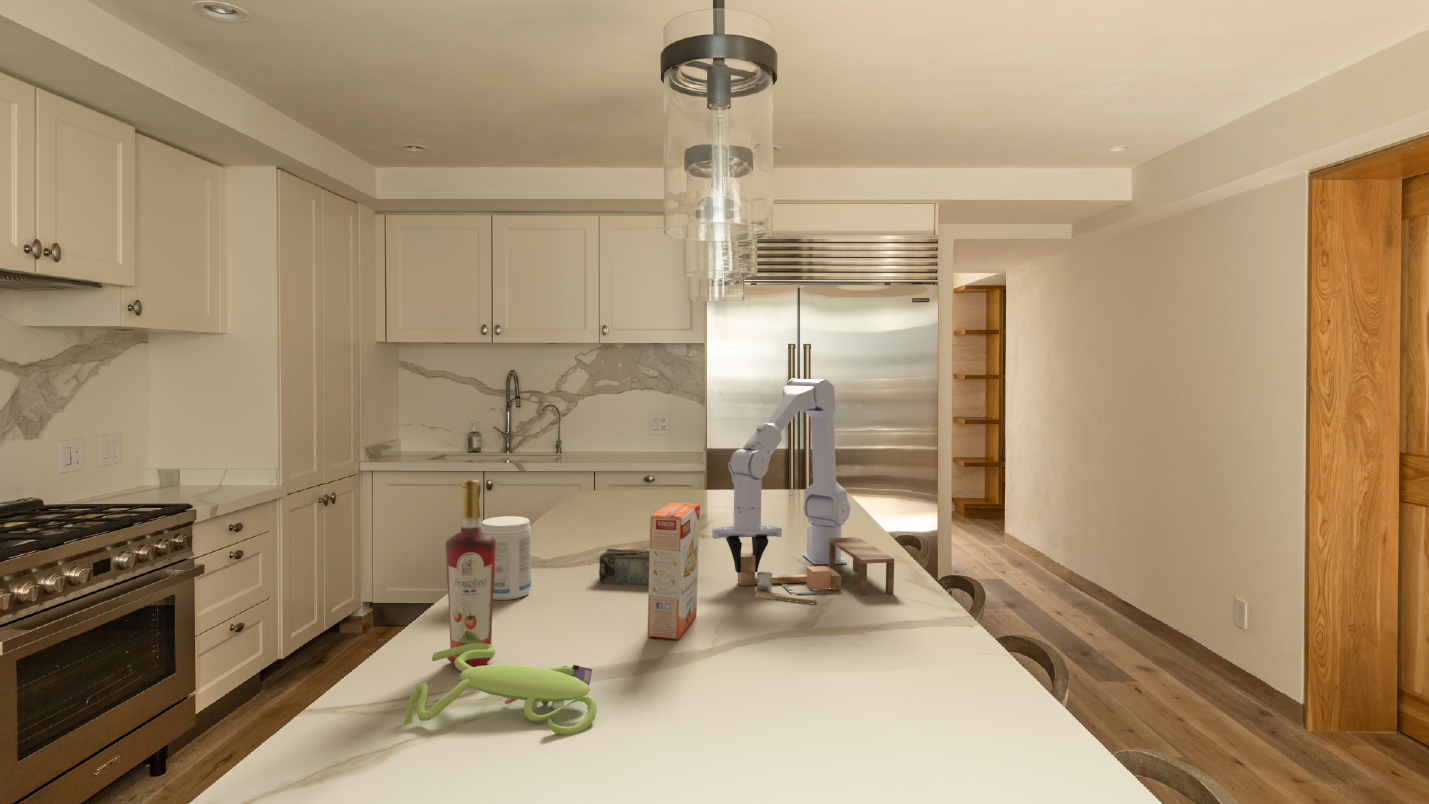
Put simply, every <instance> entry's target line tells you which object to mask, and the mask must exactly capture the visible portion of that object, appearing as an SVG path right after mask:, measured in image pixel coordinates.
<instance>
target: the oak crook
mask: <svg viewBox="0 0 1429 804" xmlns="http://www.w3.org/2000/svg"><path fill="white" fill-rule="evenodd" d="M825 566H826V567H827V568H828V569H830V570H831V590H832V591H833V590H841V589H842V575H841V574H840V573H838V572H837V571H836V570H835V571H834V570H833V569H832V568H830V567H829V566H828V565H825ZM737 583H738V584H739V585H740V586H754V585H757V575H756V572H755V555H754V554H753V552H746V553H744V552H741V572H740V573H737ZM780 583H786V584H791V583H807V573H806V574H805V573H803V574H778V575H777V574H772V584H780Z"/></svg>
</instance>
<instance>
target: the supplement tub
mask: <svg viewBox="0 0 1429 804" xmlns="http://www.w3.org/2000/svg"><path fill="white" fill-rule="evenodd" d="M530 524H531V522H530V519H529V518H527V517H525V516H515V515H513V516H509V515H507V516H497V517H496V516H495V517H489V518H486V519H484V520H481V531H482V532H485V533H487V534H490V535H491V536H492V537H493V538H495V539H496V554H495V577H494V591H493V601H494V600H495V601H496V600H497V601H500V600H501V601H507V600H509V601H510V600H517V599H520V598H522V597H526V596H527V595H529V593H530V592H531V591H532V549H531V548H532V541H531V540H532V536H531V532H532V531H531V525H530Z"/></svg>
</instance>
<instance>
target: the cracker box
mask: <svg viewBox="0 0 1429 804" xmlns="http://www.w3.org/2000/svg"><path fill="white" fill-rule="evenodd" d="M700 507H701V505H700V504H699V503H690V502H670V503H668V504H667V505H665V506H663V507H662V508H661V509H659V510H658V511H655V512H654V513H652V514H651V515H650V520H649V524H650V525H649V550H650V554H649V585H648V596H647V599H648V600H647V601H648V602H647V604H648V605H647V637H648V638H655V639H656V638H657V639H666V640H667V639H668V640H677V641H678V640H679V639H680V638H681V637H682V635H683V634H684V633H685V631H686V629H687V628H688V627H689V626H690V625H691V623H692V622H693V620H694V619H695V618H696V617H697V612H698V611H697V609H698V607H697V606H698V605H697V604H698V603H697V602H698V601H697V600H698V578H699V577H698V575H699V574H698V573H699V541H700V536H699V535H700V511H701V508H700Z"/></svg>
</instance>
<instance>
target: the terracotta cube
mask: <svg viewBox="0 0 1429 804" xmlns="http://www.w3.org/2000/svg"><path fill="white" fill-rule="evenodd" d="M826 566H827V565H825V566H824V565H816V566H806V574H807V582H805V583H806V584H807V585H808V586H809V587H810V588H812V589H829V588H831V570H830V569H828V568H827V567H826ZM806 584H805V585H806ZM807 585H806V586H807ZM808 586H807V587H808ZM809 587H808V588H809ZM810 588H809V589H810Z"/></svg>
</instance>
